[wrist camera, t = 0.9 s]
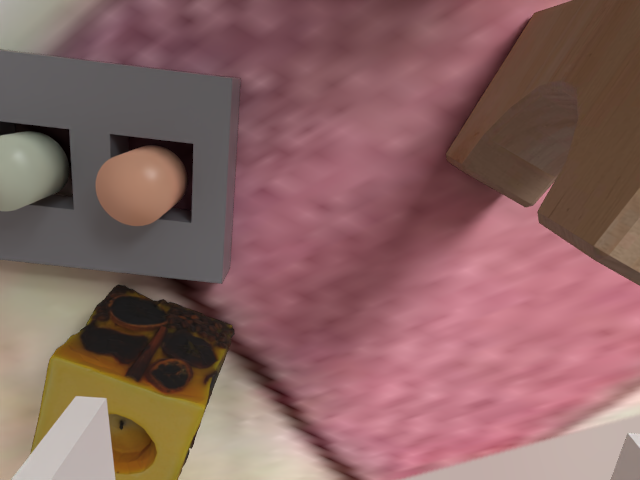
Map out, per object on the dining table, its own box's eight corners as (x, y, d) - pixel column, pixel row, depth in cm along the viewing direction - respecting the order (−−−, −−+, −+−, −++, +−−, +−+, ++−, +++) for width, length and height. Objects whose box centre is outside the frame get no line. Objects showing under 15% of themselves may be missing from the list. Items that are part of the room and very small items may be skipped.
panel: (-149, 31, 31) (-197, 26, 28) (240, 78, 32) (232, 78, 29) (-111, 230, 36) (-148, 243, 33) (230, 267, 36) (222, 283, 34)
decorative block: (503, 194, 34) (722, 336, 15) (439, 156, 33) (587, 255, 14) (605, 53, 31) (1038, 13, 12) (536, 6, 30) (888, -115, 11)
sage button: (0, 127, 31) (-46, 133, 27) (67, 135, 31) (31, 142, 27) (7, 192, 32) (-36, 207, 28) (71, 199, 32) (37, 215, 29)
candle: (117, 280, 37) (46, 349, 28) (238, 323, 38) (210, 403, 29) (89, 382, 40) (16, 475, 31) (202, 418, 41) (165, 519, 32)
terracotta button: (122, 141, 31) (93, 150, 27) (188, 148, 31) (169, 158, 27) (123, 205, 32) (96, 221, 29) (187, 212, 33) (168, 229, 29)
